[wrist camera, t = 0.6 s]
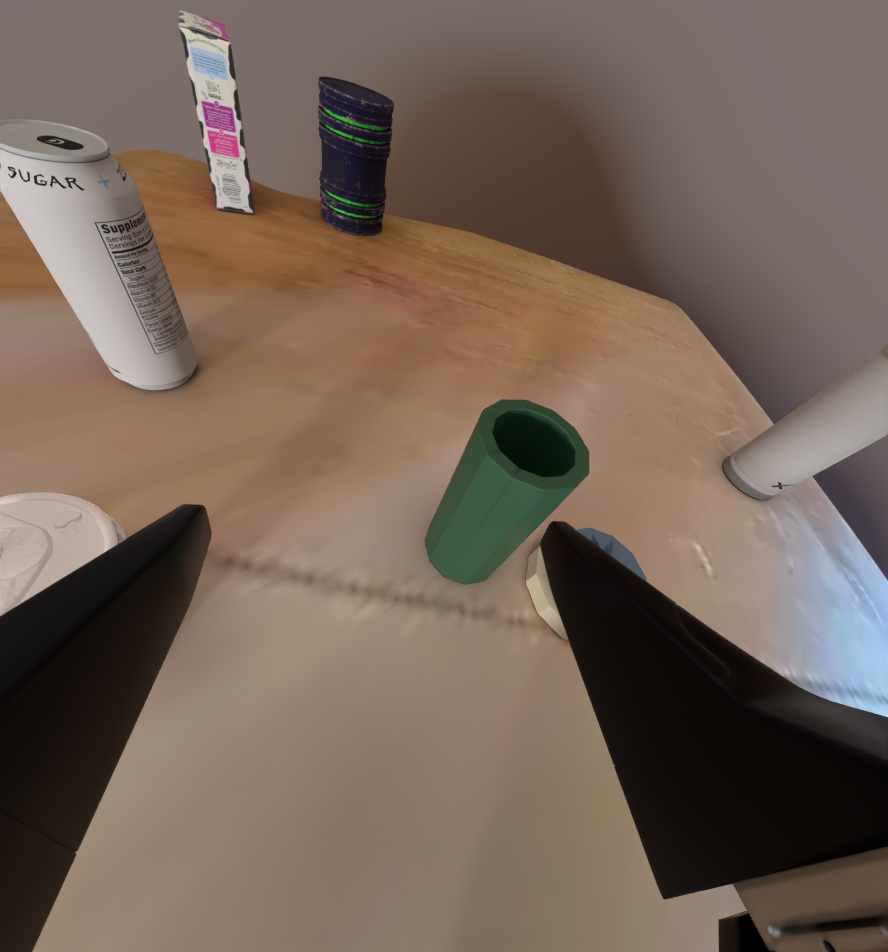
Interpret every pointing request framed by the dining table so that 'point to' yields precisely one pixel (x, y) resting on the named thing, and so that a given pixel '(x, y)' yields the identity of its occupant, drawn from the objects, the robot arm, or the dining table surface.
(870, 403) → the travel mug
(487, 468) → the green pencil cup
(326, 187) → the storage jar
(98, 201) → the energy drink can
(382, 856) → the dining table surface
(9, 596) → the smoothie
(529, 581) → the ring stack
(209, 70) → the candy bar box
